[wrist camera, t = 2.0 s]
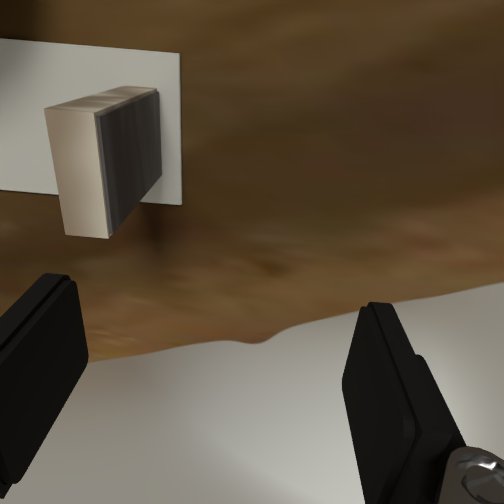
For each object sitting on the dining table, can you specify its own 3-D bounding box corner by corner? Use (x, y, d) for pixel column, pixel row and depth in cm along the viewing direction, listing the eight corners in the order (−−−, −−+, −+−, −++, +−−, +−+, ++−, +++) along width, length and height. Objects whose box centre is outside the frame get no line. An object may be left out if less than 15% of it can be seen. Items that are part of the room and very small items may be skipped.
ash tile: (159, 88, 30) (97, 113, 19) (162, 176, 33) (111, 238, 23) (124, 85, 30) (43, 108, 19) (131, 173, 33) (65, 234, 23)
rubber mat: (180, 53, 29) (179, 53, 29) (182, 203, 35) (181, 205, 34) (-59, 33, 29) (-63, 33, 29) (-18, 186, 35) (-21, 187, 34)
